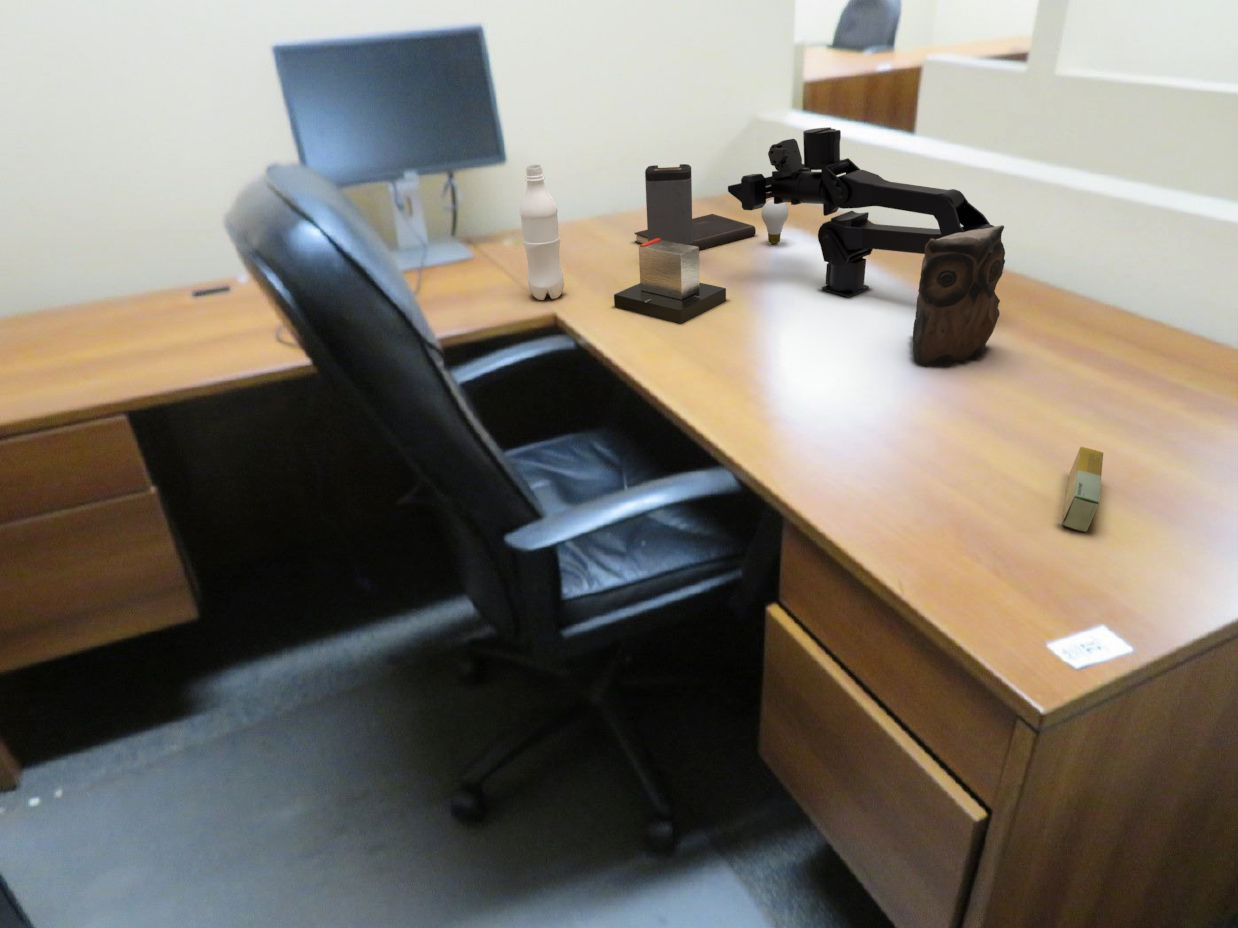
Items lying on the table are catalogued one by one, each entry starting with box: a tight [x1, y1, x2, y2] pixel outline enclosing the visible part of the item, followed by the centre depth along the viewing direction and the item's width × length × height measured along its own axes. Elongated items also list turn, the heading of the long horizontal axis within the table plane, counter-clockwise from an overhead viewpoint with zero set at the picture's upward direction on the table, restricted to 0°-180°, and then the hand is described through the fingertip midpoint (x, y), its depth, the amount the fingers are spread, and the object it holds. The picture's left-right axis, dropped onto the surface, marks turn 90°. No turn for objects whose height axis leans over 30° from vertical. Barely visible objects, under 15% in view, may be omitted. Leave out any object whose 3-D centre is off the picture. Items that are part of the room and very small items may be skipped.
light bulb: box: [760, 198, 790, 246], centre depth 188 cm, size 6×6×10 cm
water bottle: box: [519, 164, 565, 301], centre depth 164 cm, size 7×7×25 cm
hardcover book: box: [634, 213, 757, 251], centre depth 198 cm, size 16×23×2 cm
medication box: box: [1061, 446, 1104, 533], centre depth 97 cm, size 12×3×4 cm, turn 153°
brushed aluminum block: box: [638, 238, 700, 300], centre depth 159 cm, size 10×5×9 cm, turn 48°
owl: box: [912, 224, 1006, 368], centre depth 130 cm, size 13×13×20 cm
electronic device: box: [644, 163, 693, 246], centre depth 179 cm, size 9×6×20 cm, turn 84°
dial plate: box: [613, 282, 727, 325], centre depth 162 cm, size 16×14×3 cm
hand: (743, 185), depth 171 cm, fingers open, 9 cm apart
